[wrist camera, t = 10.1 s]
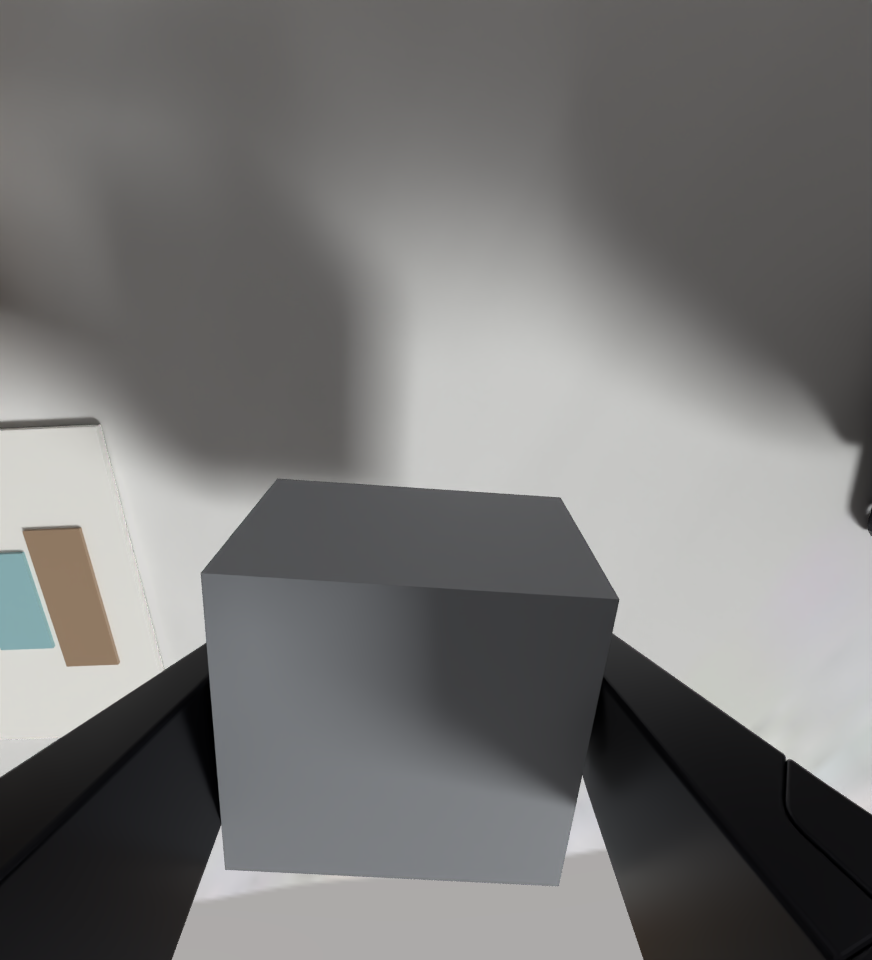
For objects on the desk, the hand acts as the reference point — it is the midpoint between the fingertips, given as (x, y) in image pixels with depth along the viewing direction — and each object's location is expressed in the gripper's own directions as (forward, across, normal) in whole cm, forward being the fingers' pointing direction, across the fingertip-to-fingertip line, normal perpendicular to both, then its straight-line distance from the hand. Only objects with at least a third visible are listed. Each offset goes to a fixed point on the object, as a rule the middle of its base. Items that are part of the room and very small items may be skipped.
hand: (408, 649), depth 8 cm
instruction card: (+6, +11, +2) cm, 12 cm away
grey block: (+1, 0, 0) cm, 1 cm away
